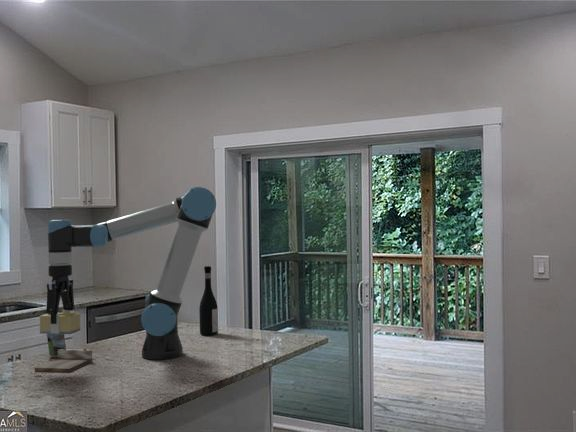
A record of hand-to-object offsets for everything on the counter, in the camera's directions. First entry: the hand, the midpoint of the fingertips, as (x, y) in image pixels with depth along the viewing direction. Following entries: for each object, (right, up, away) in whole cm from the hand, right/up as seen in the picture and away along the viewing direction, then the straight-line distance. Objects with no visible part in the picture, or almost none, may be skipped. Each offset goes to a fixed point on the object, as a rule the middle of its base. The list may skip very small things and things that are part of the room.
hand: (60, 330), depth 202 cm
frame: (0, 0, 0) cm, 0 cm away
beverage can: (-9, -14, +20) cm, 26 cm away
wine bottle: (+44, -13, +57) cm, 73 cm away
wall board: (0, -13, +4) cm, 14 cm away
